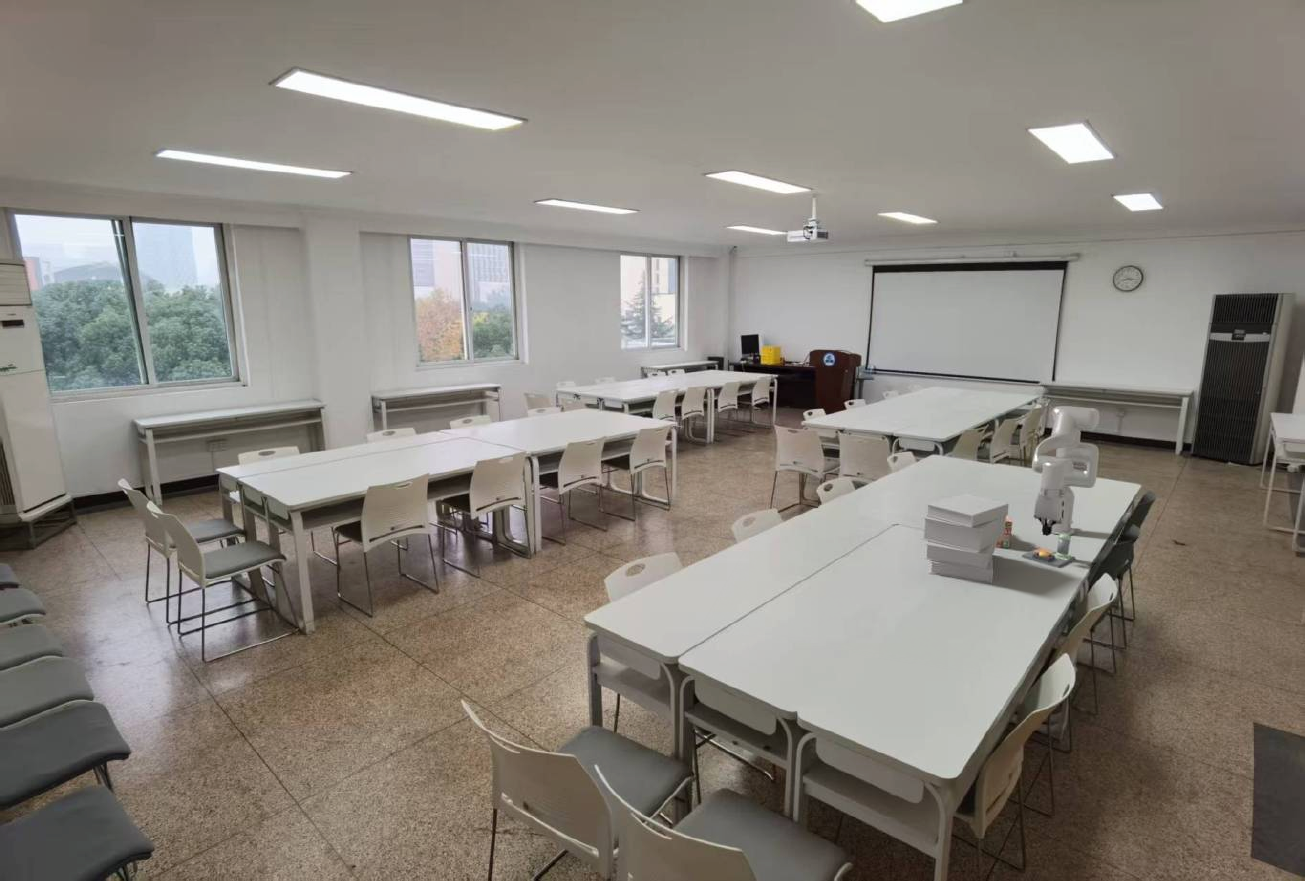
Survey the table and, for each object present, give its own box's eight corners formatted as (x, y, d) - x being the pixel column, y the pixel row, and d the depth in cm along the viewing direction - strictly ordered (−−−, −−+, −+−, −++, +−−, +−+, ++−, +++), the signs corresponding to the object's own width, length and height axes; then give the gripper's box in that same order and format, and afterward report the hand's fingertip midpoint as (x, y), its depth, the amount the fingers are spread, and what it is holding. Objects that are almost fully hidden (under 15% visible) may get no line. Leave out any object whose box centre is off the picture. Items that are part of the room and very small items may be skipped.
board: (1039, 549, 280) (1039, 544, 280) (1075, 559, 269) (1075, 553, 268) (1022, 557, 272) (1022, 551, 271) (1058, 567, 260) (1059, 561, 260)
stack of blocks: (977, 531, 304) (980, 506, 302) (991, 531, 303) (994, 506, 301) (994, 547, 283) (997, 520, 281) (1010, 548, 282) (1012, 520, 280)
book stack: (1001, 555, 274) (1007, 496, 269) (1004, 586, 243) (1011, 520, 238) (924, 544, 287) (928, 488, 282) (918, 573, 256) (922, 510, 251)
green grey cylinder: (1059, 553, 272) (1062, 533, 270) (1069, 556, 269) (1072, 536, 267) (1054, 555, 270) (1057, 534, 268) (1064, 558, 267) (1067, 537, 265)
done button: (1041, 555, 270) (1041, 550, 269) (1050, 557, 267) (1050, 553, 267) (1036, 557, 268) (1037, 552, 267) (1046, 559, 265) (1046, 555, 265)
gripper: (1075, 493, 258) (1070, 537, 262) (1036, 485, 270) (1031, 527, 274) (1067, 497, 254) (1062, 542, 258) (1027, 489, 266) (1022, 531, 270)
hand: (1046, 534), depth 266 cm, fingers closed
